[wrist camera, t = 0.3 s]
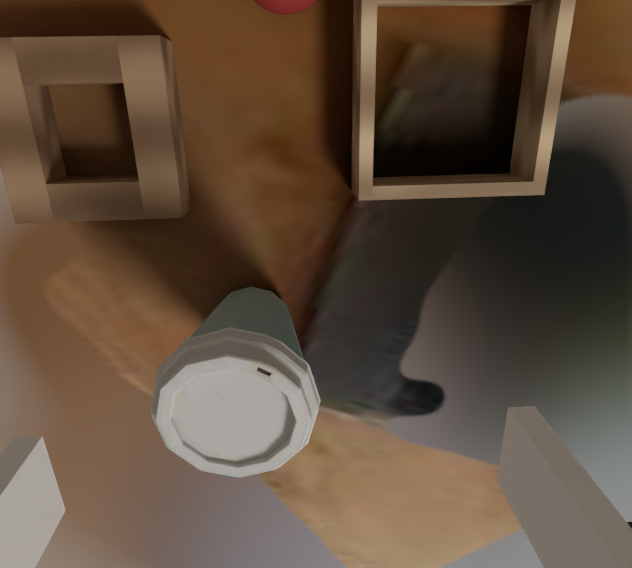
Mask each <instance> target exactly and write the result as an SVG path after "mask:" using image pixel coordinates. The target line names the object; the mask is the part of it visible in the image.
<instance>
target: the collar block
mask: <svg viewBox="0 0 632 568" xmlns="http://www.w3.org/2000/svg"><path fill="white" fill-rule="evenodd" d="M111 84H124V90H125V96H126V102H127V109H128V115H129V121H130V128H131V134H132V140H133V147H134V153H135V159H136V165H137V172H138V175H104V176H69V177H67V174H66V169H65V164H64V160H63V155H62V150H61V146H60V141H59V136H58V132H57V127H56V122H55V118H54V113H53V108H52V104H51V99H50V94H49V90H48V86H58V85H111ZM0 166H1V170H2V174H3V177H4V181H5V185H6V189H7V192H8V196H9V200H10V204H11V208H12V211H13V215H14V219H15V222H16V224H18V223H45V222H46V223H48V222H79V221H109V220H140V219H170V218H183V217H184V216H185V215H186V214H187V213H188V211H189V210H190V209H191V208H192V206H191V198H190V190H189V181H188V173H187V165H186V156H185V148H184V139H183V131H182V123H181V114H180V106H179V98H178V89H177V81H176V73H175V64H174V56H173V47H172V41H170V40H168V39H166V38H164V37H162V36H160V35H142V36H69V37H0Z"/></svg>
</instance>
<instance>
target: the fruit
mask: <svg viewBox="0 0 632 568" xmlns="http://www.w3.org/2000/svg"><path fill="white" fill-rule="evenodd" d="M254 1H255V2H256V3H257V4H259V5H260V6H261V7H263V8H264V9H266V10H268V11H271V12H273V13H277V14H286V15H288V14H295V13H298V12H301V11H303V10H305V9H307V8H308V7H310V6H311V5H312V4H314V3H315V2H316V1H317V0H254Z"/></svg>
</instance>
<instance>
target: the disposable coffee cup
mask: <svg viewBox="0 0 632 568" xmlns="http://www.w3.org/2000/svg"><path fill="white" fill-rule="evenodd" d="M320 401H321V400H320V397H319V394H318V391H317V388H316V385H315V382H314V378H313V375H312V372H311V369H310V366H309V364H308V363H307V362H306V361H304V359H303V356H302V353H301V349H300V346H299V343H298V339H297V336H296V333H295V330H294V326H293V323H292V320H291V317H290V314H289V311H288V308H287V305H286V303H284V302H283V301H282V300H281V299H280V298H279V297H277V296H276V295H275V294H274V293H273V292H272V291H269V290H264V289H260V288H256V287H247V288H244V289H240V290H236V291H233V292H230V294H229V295H228V296H227V297H226V298H225V299H224V300H223V301H222V302H221V303H220V304H219V305H218V306H217V307H216V308H215V309H214V310H213V312H212V313H211V314H210V315H209V316H208V317H207V319H206V320H205V321H204V322H203V323H202V324H201V326H200V327H199V328H198V329H197V330H196V332H195V333H194V334H193V335H192V336H191V337H190V338H188V339H186V340H185V341H184V342H183V343H182V344H181V345H180V346H179V347H178V348H177V349H176V350H175V351H174V352H173V353H172V354H171V355H170V356H169V357H168V358H167V359H166V360H165V361H164V362H163V363H162V364H161V365H160V366H159V367H158V369H157V375H156V380H155V386H154V392H153V398H152V405H151V412H150V414H151V416H152V418H153V421H154V423H155V425H156V427H157V429H158V431H159V433H160V435H161V436H162V439H163V441H164V443H165V445H166V447H167V448H169V449H170V450H171V451H173V452H174V453H176V454H177V455H179V456H180V457H182V458H183V459H185V460H186V461H187V462H189V463H190V464H192V465H193V466H195V467H196V468H198V469H199V470H201V471H206V472H211V473H217V474H222V475H227V476H233V477H239V478H240V477H244V476H249V475H253V474H258V473H263V472H267V471H272V470H276V469H277V468H279V467H281V466H282V465H283V464H284V463H285V462H286V461H288V460H289V459H290V458H291V457H292V456H294V455H295V454H296V453H297V452H299V451H300V450H301V449H302V448H303V447H304V446H305V445H306V444H307V443H308V442H309V439H310V435H311V432H312V429H313V426H314V423H315V419H316V416H317V413H318V410H319V404H320Z"/></svg>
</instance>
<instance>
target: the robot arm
mask: <svg viewBox="0 0 632 568" xmlns="http://www.w3.org/2000/svg"><path fill="white" fill-rule="evenodd" d="M497 482H498V484H499V486H500V487H501V489H502V491H503V493H504V495H505V497H506V498H507V500H508V502H509V504H510V506H511V508H512V509H513V511H514V513H515V515H516V517H517V519H518V520H519V522H520V524H521V526H522V528H523V530H524V531H525V533H526V535H527V537H528V539H529V541H530V542H531V544H532V546H533V548H534V550H535V552H536V553H537V555H538V557H539V559H540V561H541V563H542V564H543V566H544V568H632V522H626V521H625V520H624V518H623V517H622V516H621V515H620V513H619V512H618V511H617V510H616V508H615V507H614V506H613V505H612V503H611V502H610V501H609V500H608V498H607V497H606V496H605V495H604V494H603V492H602V491H601V490H600V488H599V487H598V486H597V484H596V483H595V482H594V481H593V480H592V478H591V477H590V476H589V474H588V473H587V472H586V471H585V470H584V468H583V467H582V466H581V464H580V463H579V462H578V461H577V459H576V458H575V457H574V456H573V454H572V453H571V452H570V450H569V449H568V448H567V447H566V446H565V444H564V443H563V442H562V440H561V439H560V438H559V437H558V435H557V434H556V433H555V432H554V430H553V429H552V428H551V427H550V425H549V424H548V423H547V422H546V420H545V419H544V418H543V417H542V415H541V414H540V413H539V411H537V409H536V408H535V407H534V406H528V407H512V408H508V413H507V420H506V426H505V433H504V439H503V445H502V452H501V458H500V464H499V470H498V477H497ZM64 512H65V508H64V504H63V501H62V498H61V495H60V492H59V488H58V485H57V482H56V479H55V476H54V472H53V469H52V466H51V463H50V459H49V456H48V453H47V450H46V447H45V443H44V441H43V437H42V436H40V437H23V438H13V440H12V441H11V442H10V443H9V445H8V446H7V447H6V449H5V450H4V451H3V453H2V454H1V455H0V568H35V567H36V565H37V563H38V561H39V559H40V557H41V556H42V554H43V552H44V550H45V548H46V546H47V544H48V542H49V541H50V539H51V537H52V535H53V533H54V531H55V529H56V527H57V525H58V523H59V522H60V520H61V518H62V516H63V514H64Z"/></svg>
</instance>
